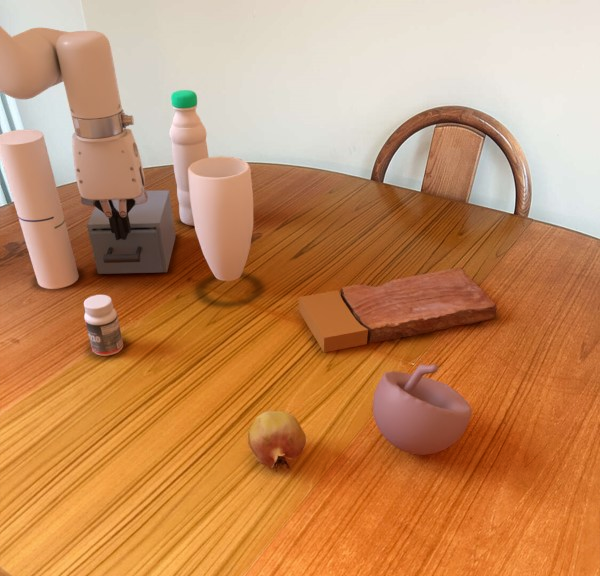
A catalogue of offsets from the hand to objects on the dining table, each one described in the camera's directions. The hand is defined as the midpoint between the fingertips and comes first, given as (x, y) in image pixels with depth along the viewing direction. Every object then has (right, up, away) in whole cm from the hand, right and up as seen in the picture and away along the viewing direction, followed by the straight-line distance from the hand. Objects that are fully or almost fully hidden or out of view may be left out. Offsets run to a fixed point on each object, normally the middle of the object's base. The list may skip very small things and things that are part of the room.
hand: (122, 236), depth 111 cm
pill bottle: (0, -20, -10) cm, 22 cm away
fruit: (+27, -35, -28) cm, 53 cm away
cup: (+18, -9, +4) cm, 20 cm away
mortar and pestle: (+45, -33, -26) cm, 62 cm away
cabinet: (-1, 0, +14) cm, 14 cm away
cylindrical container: (-13, -6, +7) cm, 16 cm away
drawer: (-1, -2, +10) cm, 10 cm away
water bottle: (+9, +10, +26) cm, 29 cm away
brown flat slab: (+46, -14, -3) cm, 48 cm away
